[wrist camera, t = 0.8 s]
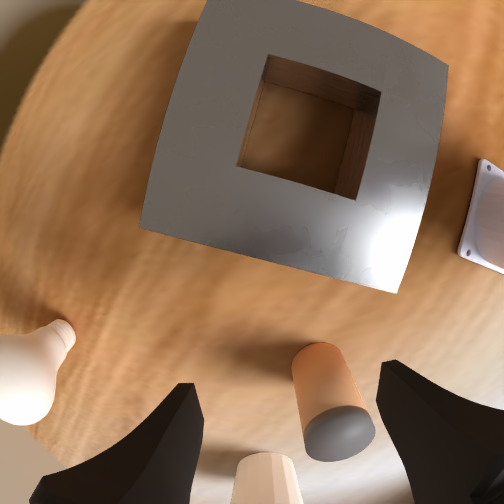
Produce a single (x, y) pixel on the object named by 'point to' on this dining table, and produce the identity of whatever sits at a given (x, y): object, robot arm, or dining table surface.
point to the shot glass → (266, 480)
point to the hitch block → (285, 191)
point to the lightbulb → (31, 371)
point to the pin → (329, 404)
